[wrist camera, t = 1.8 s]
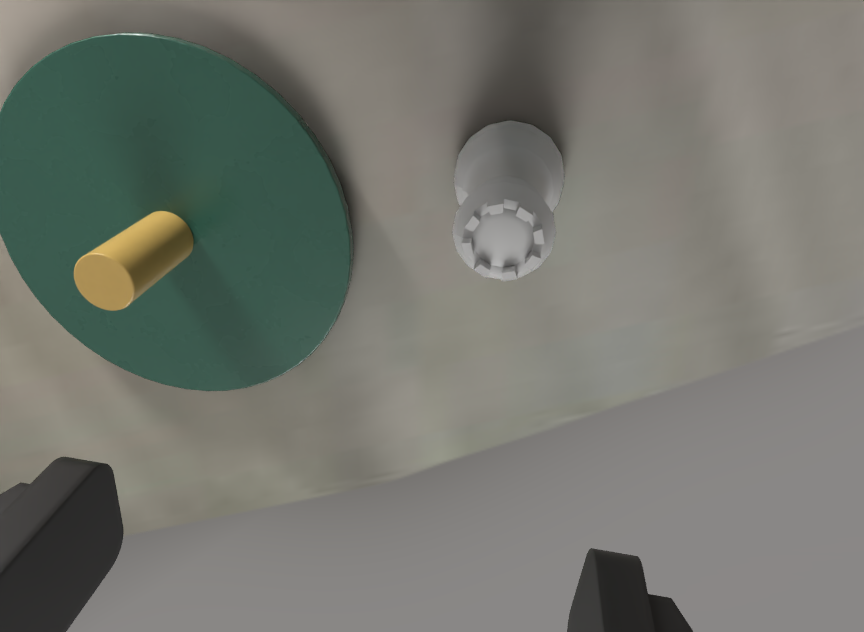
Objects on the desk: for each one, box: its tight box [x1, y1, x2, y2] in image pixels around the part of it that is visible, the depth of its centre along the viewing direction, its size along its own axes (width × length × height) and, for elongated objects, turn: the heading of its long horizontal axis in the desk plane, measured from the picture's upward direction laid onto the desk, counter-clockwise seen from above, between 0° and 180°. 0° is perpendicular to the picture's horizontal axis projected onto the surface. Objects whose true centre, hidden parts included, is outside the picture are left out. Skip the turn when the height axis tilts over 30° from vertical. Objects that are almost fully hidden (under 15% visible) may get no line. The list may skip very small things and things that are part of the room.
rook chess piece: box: [452, 120, 565, 281], centre depth 23 cm, size 4×4×8 cm
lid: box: [0, 33, 353, 391], centre depth 27 cm, size 17×17×6 cm
